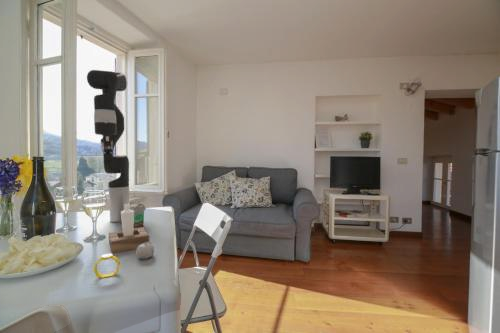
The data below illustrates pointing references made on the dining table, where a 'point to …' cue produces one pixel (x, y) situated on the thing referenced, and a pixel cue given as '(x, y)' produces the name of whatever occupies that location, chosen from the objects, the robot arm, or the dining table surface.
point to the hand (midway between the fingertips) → (107, 163)
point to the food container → (138, 215)
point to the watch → (106, 257)
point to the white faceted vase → (127, 220)
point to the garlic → (145, 250)
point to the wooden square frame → (127, 240)
